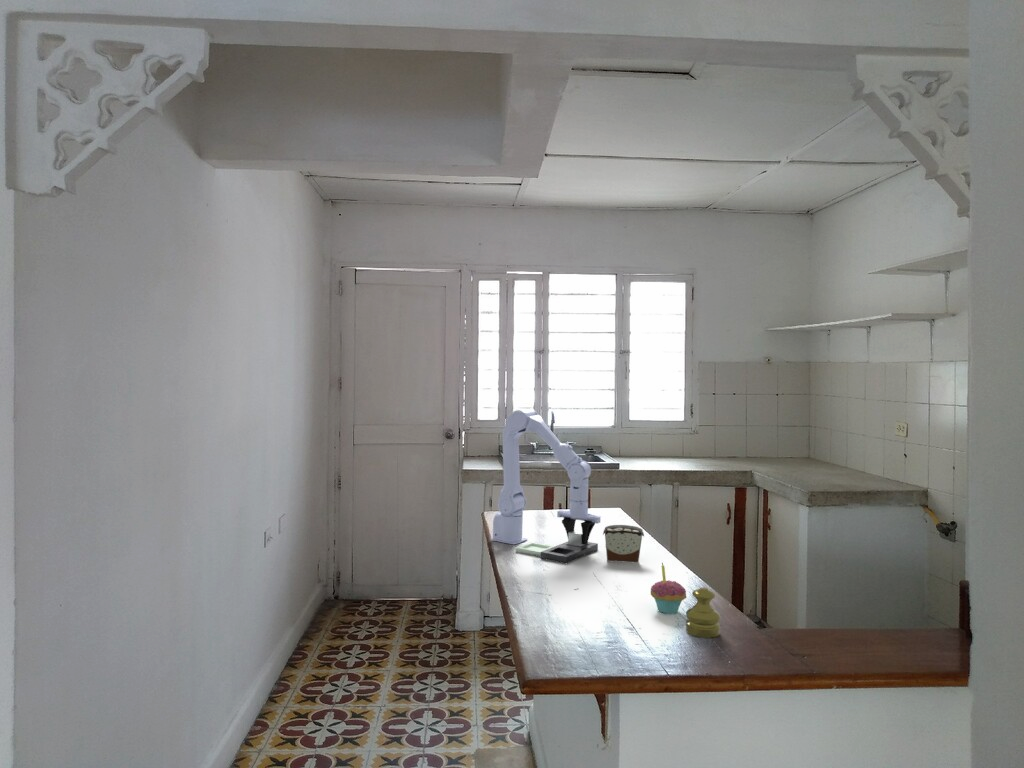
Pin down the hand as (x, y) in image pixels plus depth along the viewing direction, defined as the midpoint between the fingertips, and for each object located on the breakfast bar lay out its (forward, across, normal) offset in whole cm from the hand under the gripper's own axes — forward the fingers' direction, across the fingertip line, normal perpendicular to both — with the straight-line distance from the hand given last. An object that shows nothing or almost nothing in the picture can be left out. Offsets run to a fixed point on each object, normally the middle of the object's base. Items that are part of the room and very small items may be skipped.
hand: (577, 542), depth 232 cm
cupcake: (+3, -44, +35) cm, 57 cm away
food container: (+3, -16, 0) cm, 16 cm away
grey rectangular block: (+3, 0, 0) cm, 3 cm away
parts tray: (+3, +10, +9) cm, 14 cm away
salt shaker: (+3, -56, +44) cm, 72 cm away
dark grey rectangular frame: (+3, 0, +5) cm, 6 cm away
